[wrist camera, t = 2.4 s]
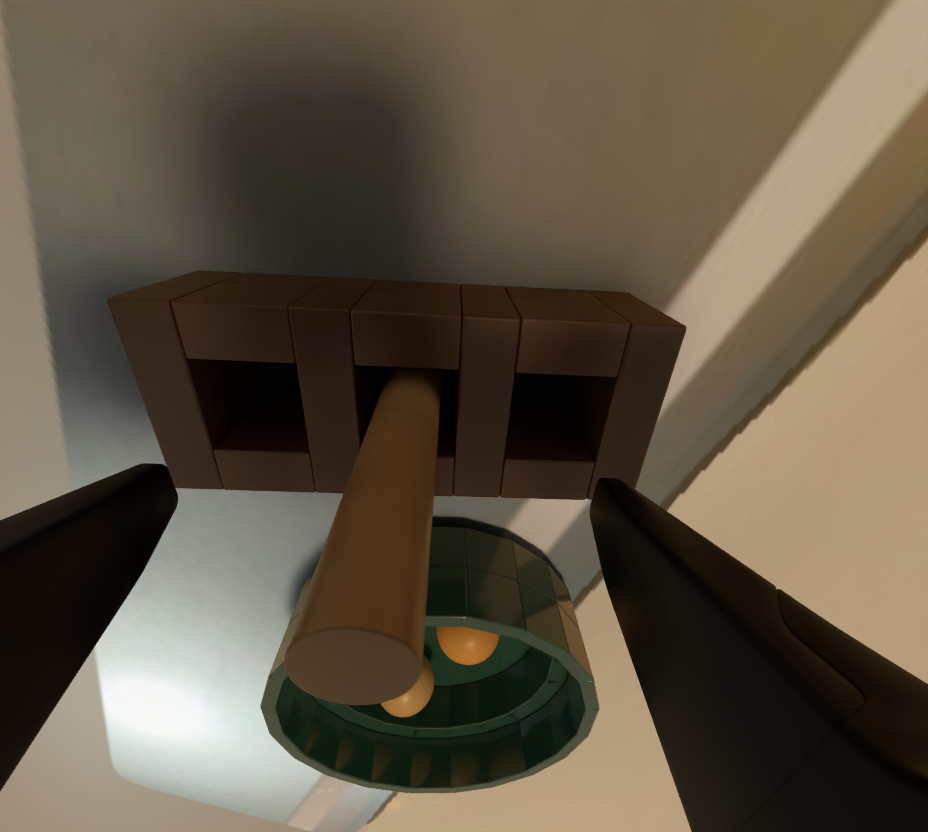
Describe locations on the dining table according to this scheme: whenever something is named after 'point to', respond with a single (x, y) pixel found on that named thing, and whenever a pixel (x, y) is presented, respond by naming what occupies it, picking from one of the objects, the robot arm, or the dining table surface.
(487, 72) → the dining table surface
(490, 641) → the bead
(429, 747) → the bowl
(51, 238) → the dining table surface
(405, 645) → the stick
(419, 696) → the bead
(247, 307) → the rack
